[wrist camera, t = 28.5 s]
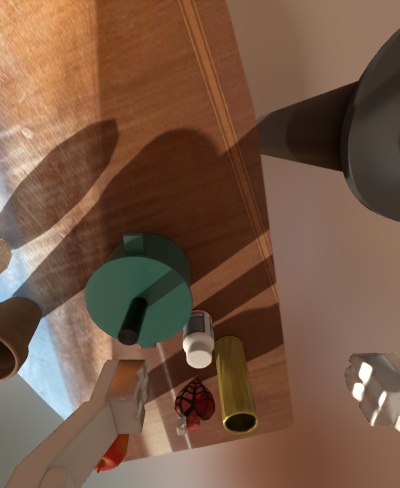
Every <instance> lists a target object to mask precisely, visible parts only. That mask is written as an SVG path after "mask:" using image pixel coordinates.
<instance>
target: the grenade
mask: <svg viewBox="0 0 400 488" xmlns="http://www.w3.org/2000/svg"><path fill="white" fill-rule="evenodd" d="M175 410H176V412H177V414H178V415H179V417H181V418H180V419H178V421H177V433H178V436H179V435H184V434H185V433H186V428H187V429H188V430H190V431H196V430H198V429H199V425H202V423H200V420H202V421H205V420H208V419H210V417H211V416H212V415H213V413H214V412H215V402H214V399H213V396H212V394H211V392H210V391H209V390H208V389H207V388H206V387H205V386H204V385H203V384H202V383H201V381H200V380H199V379H197V378H195V379H194V380H192V381H191V382H190V383H189V384H188V385H186V386H185V387H184V388H183V389H182V390H181V391H180V393H179V394H178V395H177V397H176V400H175ZM183 424H184V427H183V428H179V427H180V426H181V425H183Z"/></svg>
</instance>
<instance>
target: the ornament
mask: <svg viewBox="0 0 400 488" xmlns="http://www.w3.org/2000/svg"><path fill="white" fill-rule="evenodd" d="M11 257H12V253H11V251H10V249H9V247H8V245H7V242H6V241H5V240H3V239H1V238H0V274H1V273H2V272H3V271H4V270H6V269H7V268H8V265H9V262H10V259H11Z"/></svg>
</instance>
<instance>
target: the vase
mask: <svg viewBox="0 0 400 488" xmlns="http://www.w3.org/2000/svg"><path fill="white" fill-rule="evenodd" d="M213 350H214V353H215V360H216V366H217V373H218V381H219V389H220V398H221V407H222V417H223V425H224V427H225V429H226V430H227V431H229V432H231V433H234V434H244V433H248V432H250V431H252V430H254V429H255V428H256V427H257V425H258V417H257V413H256V408H255V403H254V398H253V393H252V389H251V383H250V379H249V373H248V368H247V364H246V359H245V354H244V345H243V342H242V341H241V340H240V339H239V338H237V337H234V336H225V337H222V338H220V339H219V340H217V341H216V342H215V344H214V349H213Z"/></svg>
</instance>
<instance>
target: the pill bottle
mask: <svg viewBox="0 0 400 488" xmlns="http://www.w3.org/2000/svg"><path fill="white" fill-rule="evenodd" d="M183 348H184V350H185V352H186V353H187V362H188V364H189V365H190V366H192V367H194V368H204V367H206V366H208V365H209V364H210V363H211V361H212V351H213V349H214V334H213V325H212V318H211V316H210V315H209V314H208V313H207V312H205V311H203V310H194V311H192V312H191V315H190V318H189V320H188V322H187V324H186V325H185V326H184V334H183Z"/></svg>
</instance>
